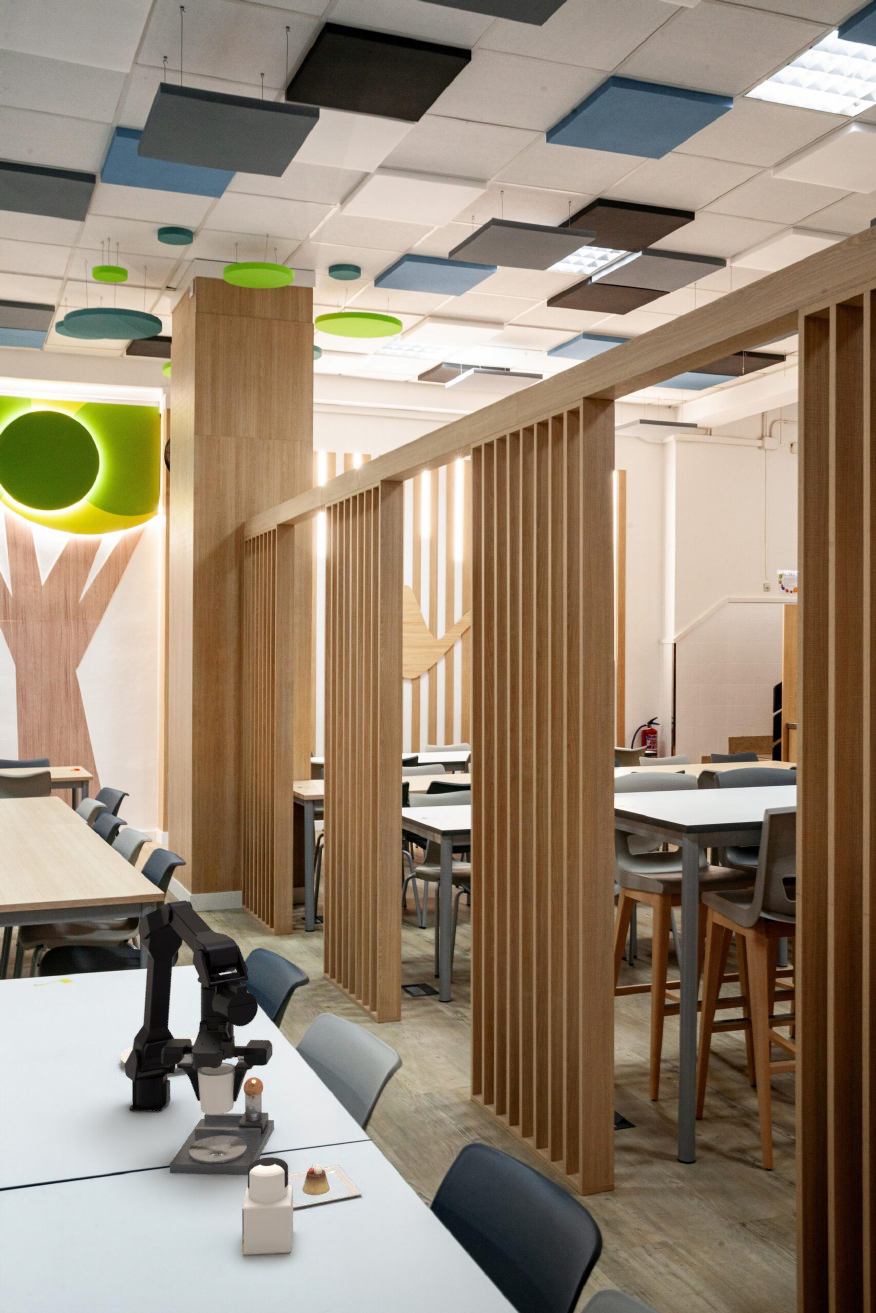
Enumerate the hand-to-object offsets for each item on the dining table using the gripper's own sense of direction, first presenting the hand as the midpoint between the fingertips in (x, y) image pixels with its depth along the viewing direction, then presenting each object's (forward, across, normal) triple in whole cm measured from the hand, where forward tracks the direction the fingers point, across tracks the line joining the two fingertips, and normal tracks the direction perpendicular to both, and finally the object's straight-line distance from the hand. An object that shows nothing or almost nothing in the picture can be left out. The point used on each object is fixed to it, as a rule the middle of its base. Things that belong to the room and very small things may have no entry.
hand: (217, 1100), depth 200 cm
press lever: (+9, +4, +10) cm, 14 cm away
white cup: (+2, 0, 0) cm, 2 cm away
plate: (+11, -24, +50) cm, 57 cm away
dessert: (+11, +19, -10) cm, 25 cm away
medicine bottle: (+10, +15, -29) cm, 34 cm away
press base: (+10, 0, +4) cm, 11 cm away
